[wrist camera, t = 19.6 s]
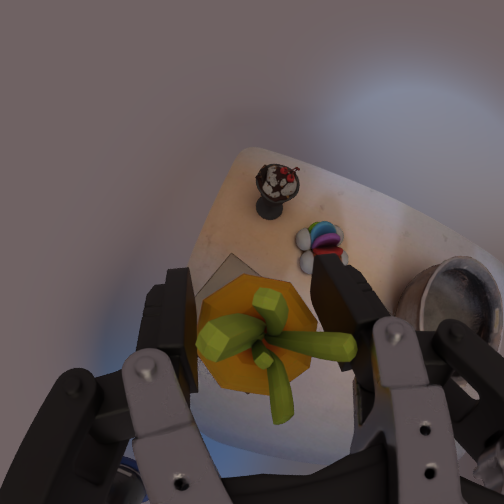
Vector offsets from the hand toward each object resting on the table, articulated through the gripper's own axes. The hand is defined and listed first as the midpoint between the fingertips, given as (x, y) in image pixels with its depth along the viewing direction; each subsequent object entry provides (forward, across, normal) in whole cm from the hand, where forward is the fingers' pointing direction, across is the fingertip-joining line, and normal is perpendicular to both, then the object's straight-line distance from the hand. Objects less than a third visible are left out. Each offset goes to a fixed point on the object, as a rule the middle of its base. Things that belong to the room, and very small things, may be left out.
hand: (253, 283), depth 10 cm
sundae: (+41, -8, +15) cm, 44 cm away
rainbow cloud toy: (+34, -16, +21) cm, 43 cm away
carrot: (+7, 0, +9) cm, 11 cm away
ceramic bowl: (+22, -36, +33) cm, 54 cm away
